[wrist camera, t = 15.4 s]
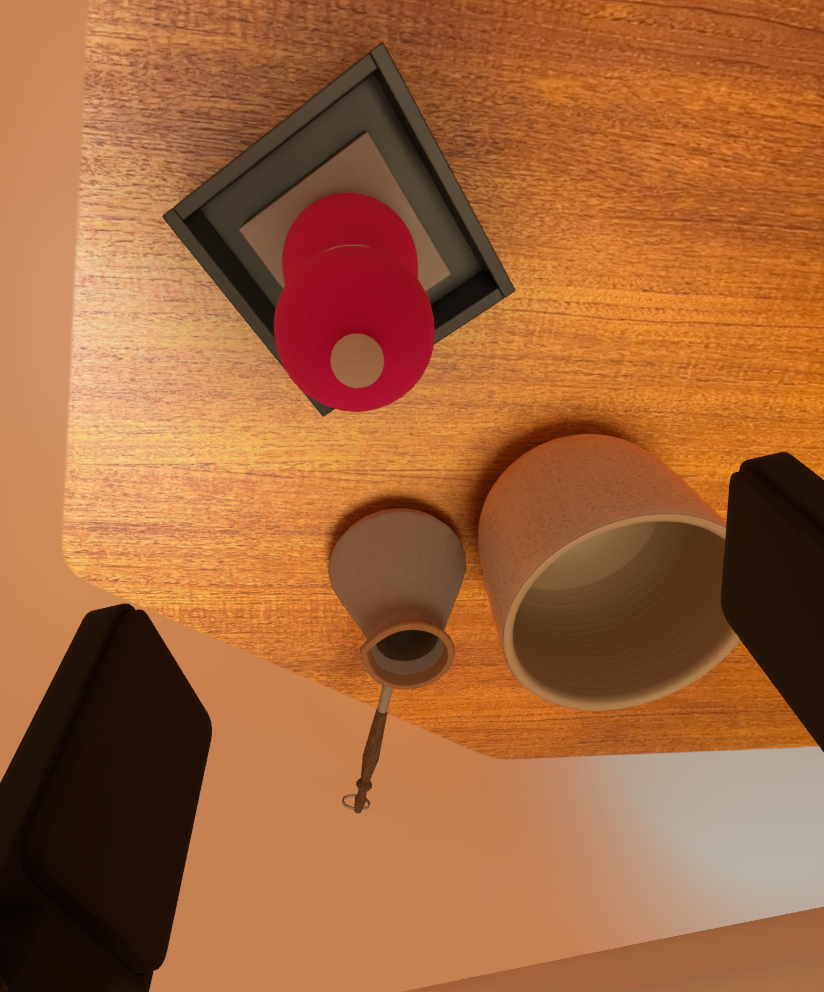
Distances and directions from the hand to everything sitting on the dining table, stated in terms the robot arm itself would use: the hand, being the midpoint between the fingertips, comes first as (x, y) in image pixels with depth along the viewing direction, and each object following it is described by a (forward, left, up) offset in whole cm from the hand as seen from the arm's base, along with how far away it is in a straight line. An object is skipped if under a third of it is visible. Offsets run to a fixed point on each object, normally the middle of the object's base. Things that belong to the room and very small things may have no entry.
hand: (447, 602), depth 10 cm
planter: (-2, +27, -36) cm, 45 cm away
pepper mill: (+1, 0, -32) cm, 32 cm away
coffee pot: (+16, +26, -36) cm, 47 cm away
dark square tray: (+1, 0, -36) cm, 36 cm away
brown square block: (+1, 0, -36) cm, 36 cm away
